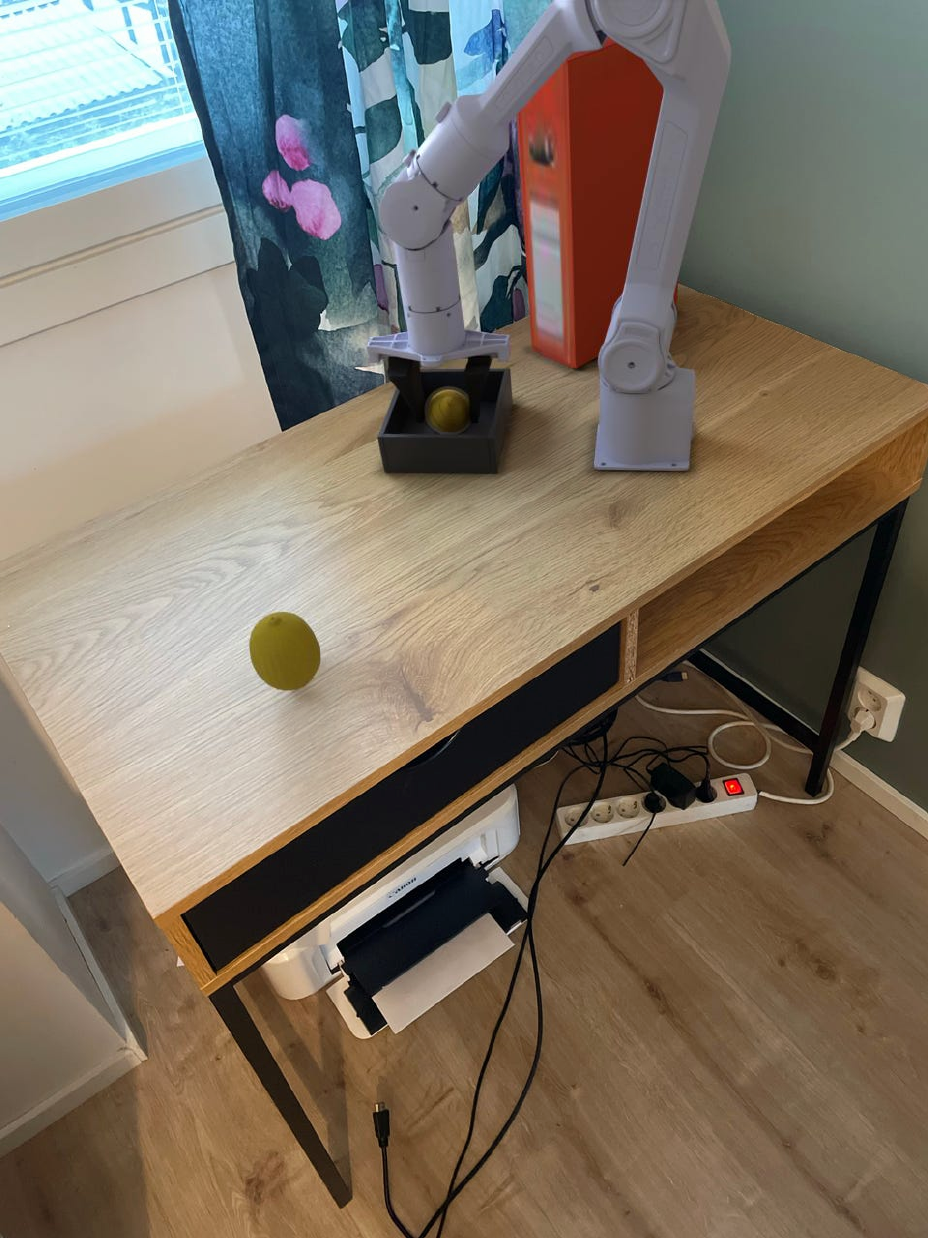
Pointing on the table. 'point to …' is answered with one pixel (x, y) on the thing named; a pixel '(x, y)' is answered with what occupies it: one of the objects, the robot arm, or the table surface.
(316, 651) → the lemon
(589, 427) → the table surface
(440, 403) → the yellow traffic cone
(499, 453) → the bin
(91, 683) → the table surface
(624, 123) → the file binder
